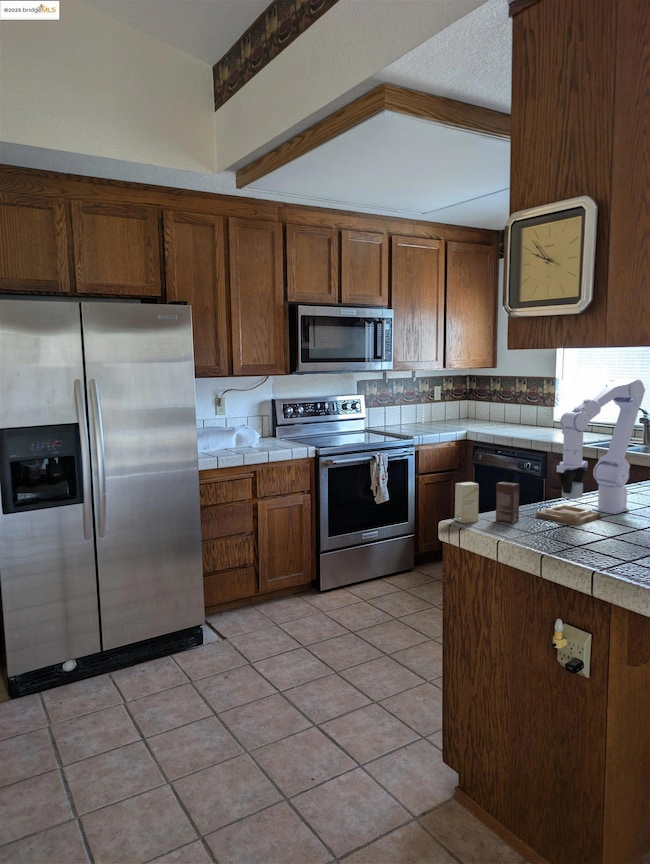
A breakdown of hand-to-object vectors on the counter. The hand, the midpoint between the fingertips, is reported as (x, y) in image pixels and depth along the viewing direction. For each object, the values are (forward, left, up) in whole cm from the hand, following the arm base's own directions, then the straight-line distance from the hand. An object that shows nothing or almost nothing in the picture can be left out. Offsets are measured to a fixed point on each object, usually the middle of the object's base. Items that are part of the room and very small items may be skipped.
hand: (571, 491), depth 195 cm
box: (+18, -11, -9) cm, 23 cm away
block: (0, 0, -2) cm, 2 cm away
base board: (0, -1, -8) cm, 8 cm away
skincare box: (+28, -19, -9) cm, 35 cm away
